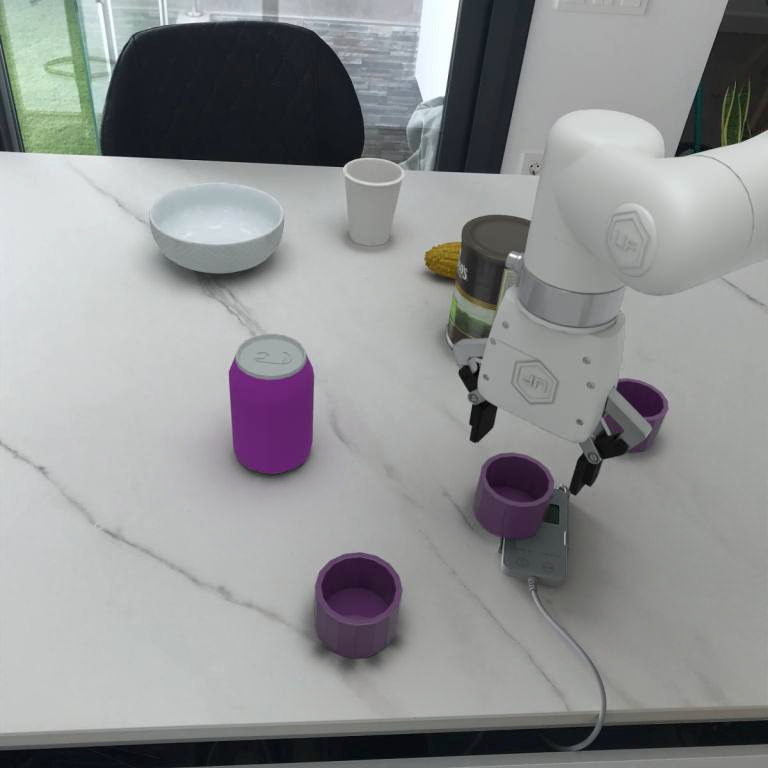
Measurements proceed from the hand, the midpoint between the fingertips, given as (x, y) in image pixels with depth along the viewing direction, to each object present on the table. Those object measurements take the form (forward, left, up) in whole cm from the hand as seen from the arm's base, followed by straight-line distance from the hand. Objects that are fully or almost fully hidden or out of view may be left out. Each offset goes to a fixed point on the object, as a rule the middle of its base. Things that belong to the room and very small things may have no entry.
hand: (528, 459), depth 67 cm
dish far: (+10, -16, -8) cm, 20 cm away
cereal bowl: (+48, +25, -8) cm, 55 cm away
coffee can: (+27, -6, -8) cm, 29 cm away
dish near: (-9, +16, -8) cm, 20 cm away
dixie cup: (+53, +4, -8) cm, 54 cm away
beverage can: (+11, +21, -8) cm, 25 cm away
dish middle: (+1, 0, -8) cm, 8 cm away
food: (+40, -12, -8) cm, 43 cm away
